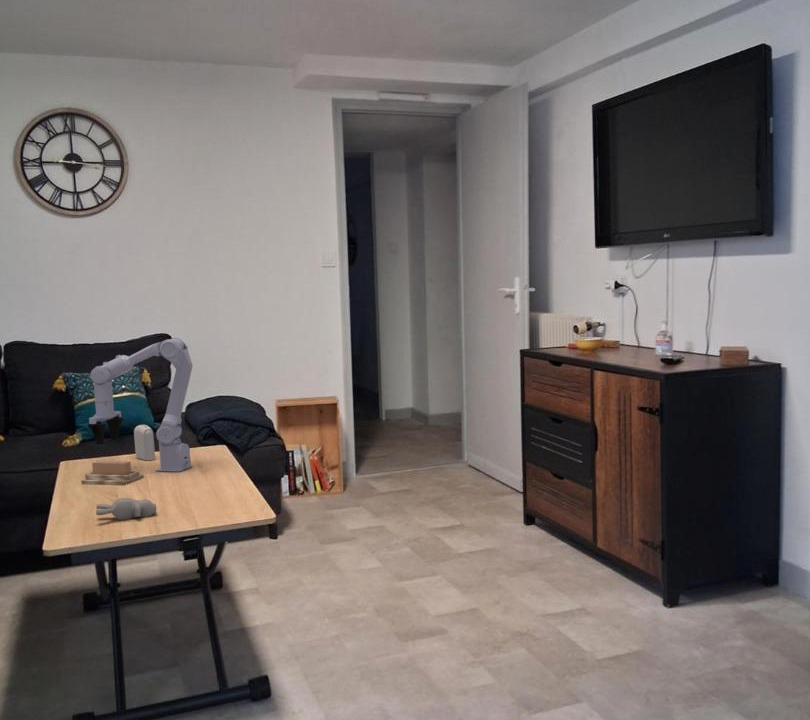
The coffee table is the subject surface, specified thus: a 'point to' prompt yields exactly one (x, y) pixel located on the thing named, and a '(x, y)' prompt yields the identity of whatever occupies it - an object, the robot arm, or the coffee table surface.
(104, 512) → the bunny figurine
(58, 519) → the coffee table surface
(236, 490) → the coffee table surface
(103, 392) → the robot arm
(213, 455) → the coffee table surface
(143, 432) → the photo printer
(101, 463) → the clay strip
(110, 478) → the framed rectangular tray
